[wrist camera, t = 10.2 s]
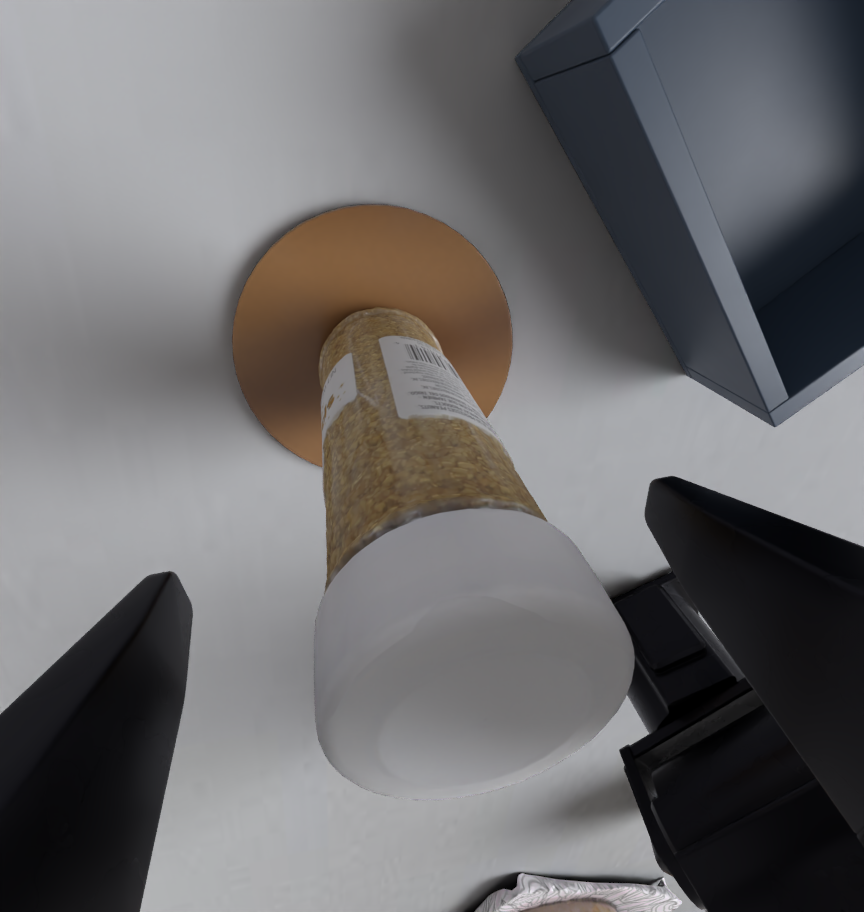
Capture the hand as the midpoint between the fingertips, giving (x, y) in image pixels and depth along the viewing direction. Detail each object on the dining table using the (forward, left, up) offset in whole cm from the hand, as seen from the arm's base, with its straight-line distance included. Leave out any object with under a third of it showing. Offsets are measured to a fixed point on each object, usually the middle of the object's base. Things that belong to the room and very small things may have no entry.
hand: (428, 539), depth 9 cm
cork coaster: (0, 0, -10) cm, 10 cm away
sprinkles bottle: (0, 0, -10) cm, 10 cm away
